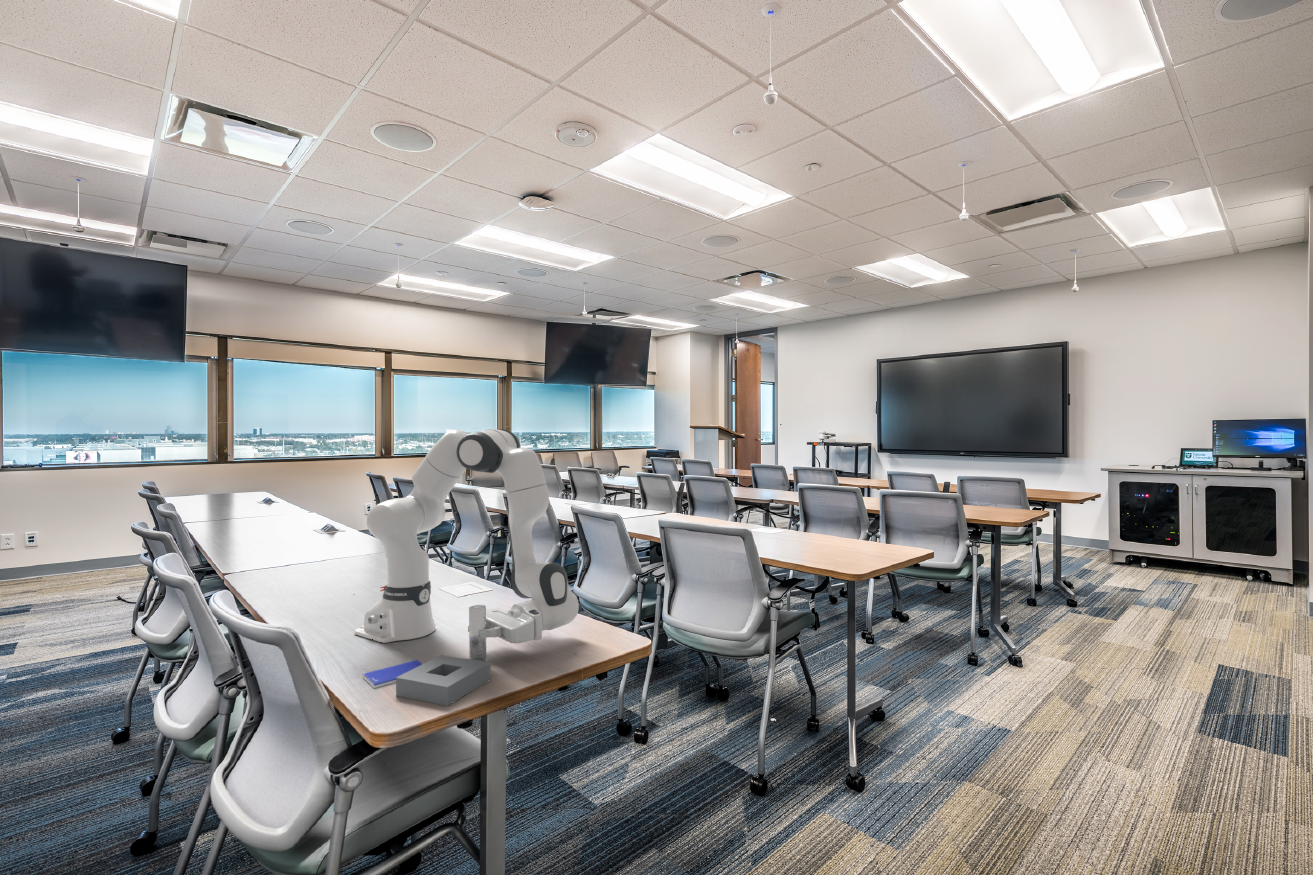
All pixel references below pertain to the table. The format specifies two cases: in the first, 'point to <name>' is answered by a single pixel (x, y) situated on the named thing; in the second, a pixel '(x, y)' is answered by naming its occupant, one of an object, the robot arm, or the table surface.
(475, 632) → the post
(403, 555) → the robot arm
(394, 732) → the table surface
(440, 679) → the socket base
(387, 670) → the hard drive
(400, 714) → the table surface
